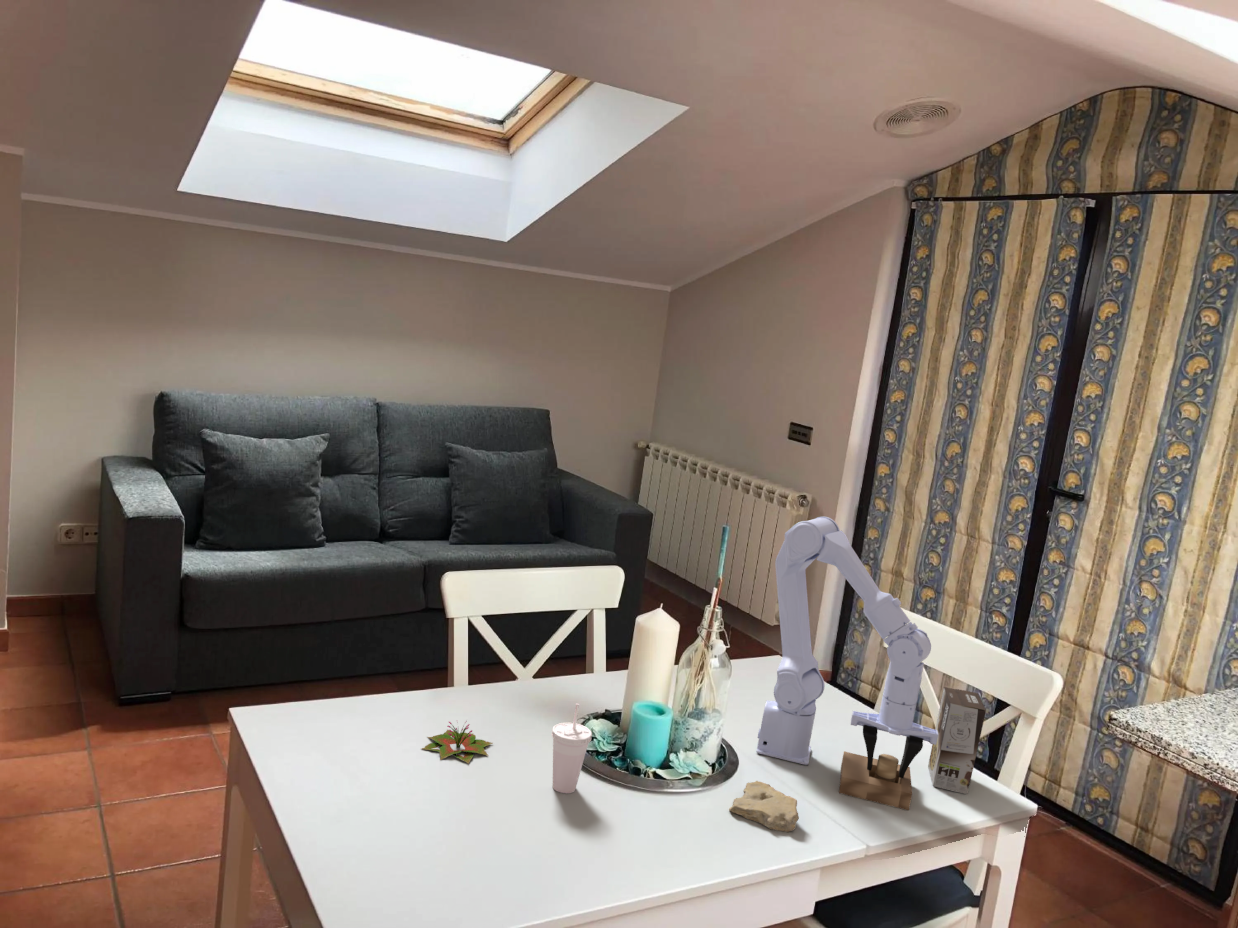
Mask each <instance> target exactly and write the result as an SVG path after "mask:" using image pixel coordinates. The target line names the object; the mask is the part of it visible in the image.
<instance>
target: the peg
mask: <svg viewBox="0 0 1238 928" xmlns="http://www.w3.org/2000/svg"><path fill="white" fill-rule="evenodd" d="M877 759H878V763H877V768H876V771H875V778H877V779H881V780H885V781H889V782H893V783H894V782H895V779H896V772H897V767H898V764H899V759H898V758H897V757H896V756H893V755H891V754H886V753H881V754H879V755H878V757H877Z"/></svg>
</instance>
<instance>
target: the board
mask: <svg viewBox="0 0 1238 928" xmlns="http://www.w3.org/2000/svg"><path fill="white" fill-rule="evenodd" d="M841 760H842V761H841V764H840V777H839V786H838V787H839V789H838V790H839V791H838V793H839V794H841V795H845V796H850V797H853V798H857V799H861V800H864V801H865V800H866V801H869V802H874V803H877V804H881V805H885V806H889V807H893V806H894V807H893V808H897V809H901V810H905V811H910V807H911V802H912V797H913V787H912V776H911V767H910V766H908V768H907V770H906V772H905V775H904V778H900V777H899V769H900V765H901V764H899V763H898V767H897V772H896V779H895V782H894V783H893V782H889V781H885V780H881V779H877V778H875V771H876V768H877V763H878V758H875V757H873V763H872V769H871V770H867V763H868V756H867V755H866V756H865V755H860V754H858V753H857V754H856V753H854V752H853V753H852V752H848V751H843V754H842V759H841Z"/></svg>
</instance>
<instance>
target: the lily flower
mask: <svg viewBox="0 0 1238 928" xmlns="http://www.w3.org/2000/svg"><path fill="white" fill-rule="evenodd" d="M467 720H468V719H466V721H465V722H464V724H466V723H467ZM456 722H457V724H459V723H458V721H456ZM448 723H449V724H450V725H447V727H448V728H450V729H446V731H444V733H442V734H441V733H440V734H437V735H433V736H429V737H426V738H428V739H431V740H432V741H434V742H430V743H428V744H426V745H425V746H424V747H422V748H421V750H426V751H427V750H429V751H433V752H434V751H435V752H439V756H440V758H439V760H440V761H441V760H443V759H446V758H447V757H449V756H453V757H455V758H457V759H459V760H461V761H464V762H466V763H467V764H470V762H471V760H472V758H473V757H474V755H475V754H474V753H477V754H479V755H484V756H488V757H489V754H487V751H485V747H487V746H490V745H492V744H494V742H491V741H486V740H484V739H479V738H477V739H476V735H475V734H474V733H473V730H472V729H470V727H469V726H470V725H471V724H469V723H468V724H467V725H466V726H465V725H462V728H461V730H460V731H459V728H458V727H455V726H454V725H453V724H452V722H451V721H448ZM464 726H465V727H464ZM468 729H470V731H469V732H466V730H468ZM459 732H460V733H459ZM451 745H455V747H456V748H460V747H461V746H462V747H464V749H457V750H455V749H453V748H452V747H451ZM462 752H465V753H464V754H463V755H461V754H460V753H462Z"/></svg>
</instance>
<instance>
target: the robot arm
mask: <svg viewBox="0 0 1238 928" xmlns="http://www.w3.org/2000/svg"><path fill="white" fill-rule="evenodd" d="M815 560H816V561H818V562H821V563H825V564H828V565H832V566H834V567H836V568H837V570H838V571H839V572H840V574H841V575H842V576H843V577H844V579H845V580H846V581H847V582H848V584H849V585H850V587H852V588H853V590H854V591H855V592H856V593H857V595H858V596H859V597H860V598H861V600H862V601H863V610H862V611H863V615H865V617H866V619H867V620H868V621H869V622H870V624H871V625H872V627H873V628H874V629H875V630H876V632H877V633H878V635H879V637H880V638H881V640H883V642H884V643H885V644H886V645H887V647H886V653H887V657H888V659H889V665H888V669H887V672H886V677H885V681H884V688H883V692H882V693H883V694H882V697H881V702H880V708H879V711H878V712H879V713H872V712H871V713H870V712H861V711H857V710H856V711H855V710H852V714H851V718H850V726H854V727H857V726H860V727H862V736H863V739H864V743H865V750H866V754H867V755H866V757H868V763H867V770H871V769H872V763H873V758H874V753H875V749H876V745H877V740H878V731H882V732H886V733H889V734H892V735H895V736H903V737H905V743H904V749H903V755H902V757H901V758H902V759H901V761H900V764H899V765H900V769H899V777H900V778H904V775H905V772H906V770H907V768H908V767H910V765H911V763H912V762H913V760H914V759H915V758H916V756H918V754H919V753H920V752H921V751H922V749H923V747H924V743H923V742H928V743H929V744H931V745H932V744H935V745H936V743H937V739H938V730H935V729H934V728H930V727H928V726H925V725H922V724H918V723H915V722H914V718H915V713H916V707H917V704H918V698H919V694H920V693H919V692H920V688H921V683H922V677H923V671H924V666H925V663H924V662H923V661H925V660H926V659H927V658H928V657H929V655H930V654H931V651H932V644H931V640H930V638H929V636H928V633H927V632H925V631H924V630H923V629H920V628H918V627H919V626H917V624H916V623H915V622H912V621H911V620H910V618H909V617H908V616H907V614H906V612H905V611H904V610H903V608H902V607H901V605H902V602H901V601H900V599H899V598H898V597H894V596H893V594H891V593H889V592H884V591H881V589H880V588H879V587H878V585H877V584H876V582H875V581H874V579H873V578H872V576H871V574H870V573H869V571H868V570H867V568H866V567H865V566H864V564H863V562H862V561H861V559H860V558H859V556H858V554H857V553H856V551H855V550H854V548H853V546H852V545H851V543H850V541H849V539H848V536H847V535H846V533H845V532H844V531H843V530H840V526H839V525H838V523H836V521H835V520H834V519H832V518H831V517H828V516H824V515H823V516H818V517H815V518H813V519H810V520H802V521H799V522H797V523H795V524H794V525H792V526H791V528H789V529H788V530H787V531H785V533H784V540H783V542H782V544H781V546H780V549H779V551H778V554H777V556H776V559H775V576H776V578H775V579H776V588H777V602H778V604H777V605H778V612H779V613H778V614H779V615H778V616H779V626H780V627H779V628H780V629H779V630H780V640H781V650H782V651H781V652H782V653H781V655H782V658H781V660H780V663H779V664H778V667H777V669H776V682H775V685H774V688H773V697H774V700H769V699H767V700H765V701H766V702H765V705H764V709H763V714H762V718H761V719H762V720H761V724H760V728H759V729H758V732H757V733H758V734H757V739H758V742H757V747H756V753H757V754H761V755H764V756H767V757H773V758H776V759H780V760H784V761H788V762H793V763H797V764H800V765H804V766H808V765H809V763H810V756H811V750H812V746H811V745H810V744H811V740H812V739H811V738H812V733H813V727H814V721H815V717H816V712H817V706H816V701H817V699H819V698H820V697H821V696H822V695H823V694H824V691H825V685H826V684H825V681H824V677H823V676H822V674H821V672H820V670H819V661H818V660H817V658H816V656H814V655H813V651H812V639H811V625H810V614H809V613H810V611H809V599H808V590H807V589H808V587H807V576H806V574H807V573H806V572H807V568H808V567H809V566H810V565H812V563H813V562H814V561H815Z"/></svg>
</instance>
